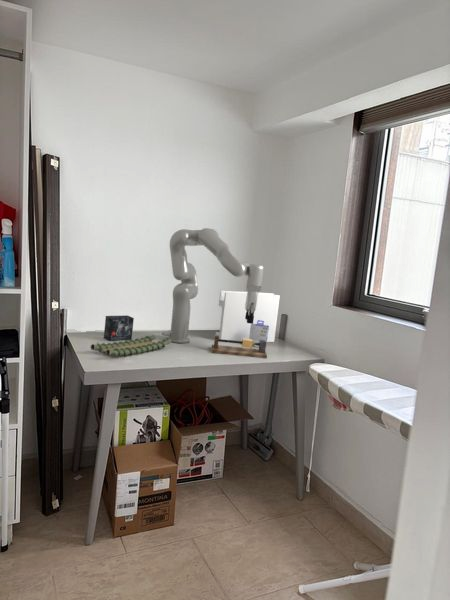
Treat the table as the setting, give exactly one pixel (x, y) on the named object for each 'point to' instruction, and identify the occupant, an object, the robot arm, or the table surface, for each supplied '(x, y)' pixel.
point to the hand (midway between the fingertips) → (248, 321)
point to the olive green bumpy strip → (131, 346)
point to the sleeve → (247, 343)
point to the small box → (118, 328)
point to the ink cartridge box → (259, 332)
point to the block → (235, 313)
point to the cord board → (239, 348)
